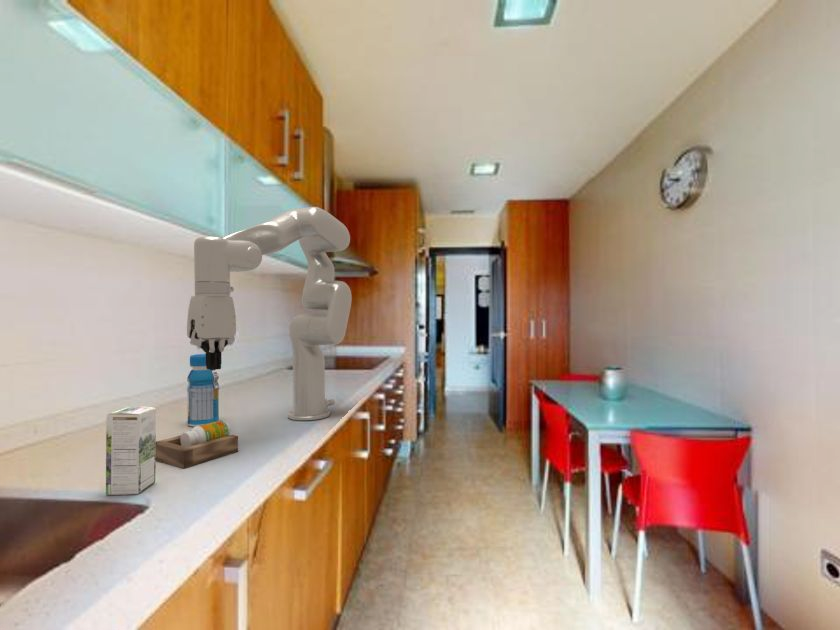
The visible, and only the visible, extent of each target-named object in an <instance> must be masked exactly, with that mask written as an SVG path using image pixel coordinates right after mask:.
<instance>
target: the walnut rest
mask: <svg viewBox="0 0 840 630" xmlns="http://www.w3.org/2000/svg"><path fill="white" fill-rule="evenodd" d="M180 438H181V435H177V436H173V437H170V438H165V439H162V440H158V441H157V440H156V461H157V462H159V463H164V464H167V465H169V466H173V467H176V468H180V469H184V470H185V469H187V468H190V467H194V466H196V465H199V464H200V465H201V464H203V463H206V462H210V461H212V460H216V459H220V458H222V457H225V456H229V455H231V454H235V453H238V452H239V436H238V435H235V434H230V436H226V437H223V438H219V439H215V440H212V441H208V442H204V443H201V444H197V445H193V446H190V447H184V446H181V442H180Z"/></svg>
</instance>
